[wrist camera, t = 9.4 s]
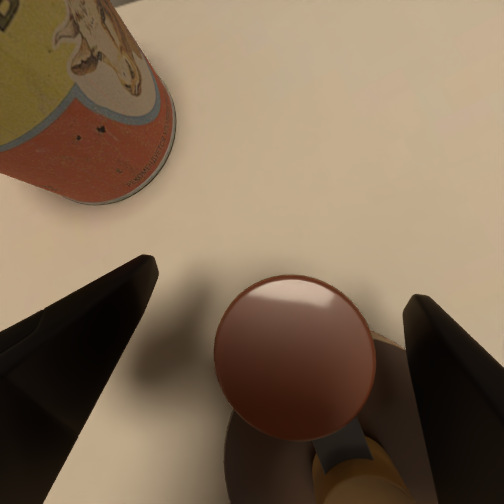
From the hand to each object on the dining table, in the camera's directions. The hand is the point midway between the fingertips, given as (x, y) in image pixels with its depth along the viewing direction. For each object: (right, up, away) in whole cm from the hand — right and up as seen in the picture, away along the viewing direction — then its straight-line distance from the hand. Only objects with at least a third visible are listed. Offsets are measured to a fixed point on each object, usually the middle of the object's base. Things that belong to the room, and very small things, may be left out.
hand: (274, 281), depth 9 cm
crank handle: (+2, -5, +3) cm, 7 cm away
